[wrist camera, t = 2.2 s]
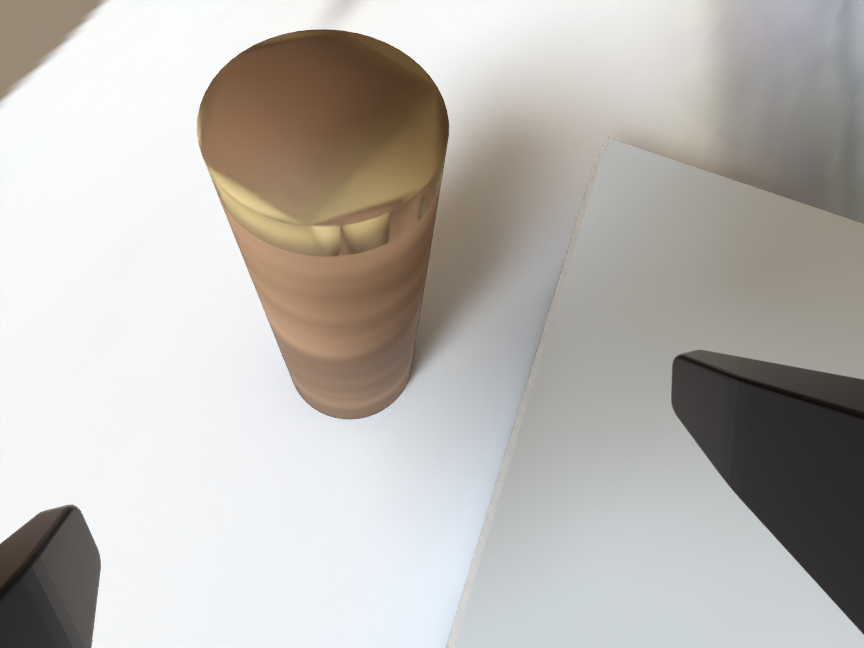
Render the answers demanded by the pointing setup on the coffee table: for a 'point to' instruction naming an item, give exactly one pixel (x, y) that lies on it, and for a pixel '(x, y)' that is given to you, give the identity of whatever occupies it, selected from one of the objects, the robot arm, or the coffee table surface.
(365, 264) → the cylinder
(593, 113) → the coffee table surface
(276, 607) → the coffee table surface
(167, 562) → the coffee table surface
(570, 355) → the caster cart
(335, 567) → the coffee table surface
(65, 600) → the robot arm
